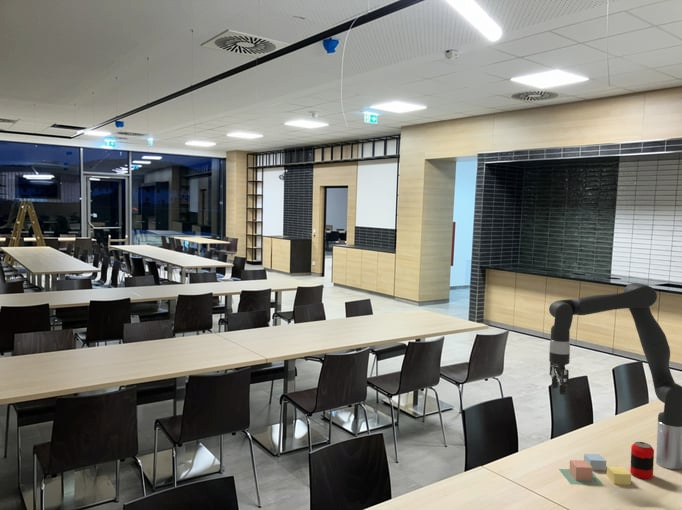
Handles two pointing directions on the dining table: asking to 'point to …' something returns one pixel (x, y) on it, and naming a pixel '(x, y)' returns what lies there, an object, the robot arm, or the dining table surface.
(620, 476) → the mustard brick
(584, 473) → the base brick
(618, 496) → the dining table surface
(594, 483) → the build plate
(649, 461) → the soda can
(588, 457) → the slate brick
